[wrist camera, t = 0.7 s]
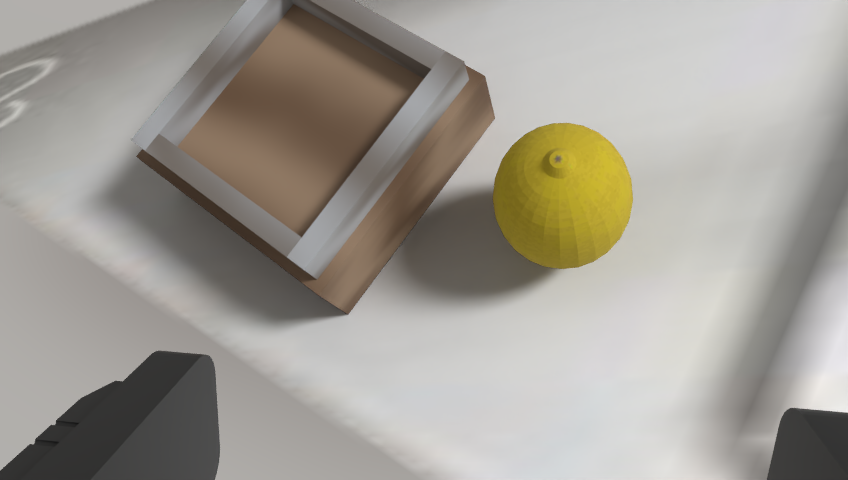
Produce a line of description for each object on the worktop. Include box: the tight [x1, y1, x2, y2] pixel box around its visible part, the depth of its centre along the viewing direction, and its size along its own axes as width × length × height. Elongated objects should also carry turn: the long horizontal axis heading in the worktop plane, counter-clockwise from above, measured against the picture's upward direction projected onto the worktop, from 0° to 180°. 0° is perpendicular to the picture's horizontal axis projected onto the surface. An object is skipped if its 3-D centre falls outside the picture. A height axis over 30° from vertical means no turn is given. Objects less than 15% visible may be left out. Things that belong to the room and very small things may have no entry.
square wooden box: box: [131, 0, 495, 314], centre depth 33 cm, size 12×12×6 cm
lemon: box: [493, 123, 633, 269], centre depth 28 cm, size 6×6×8 cm
